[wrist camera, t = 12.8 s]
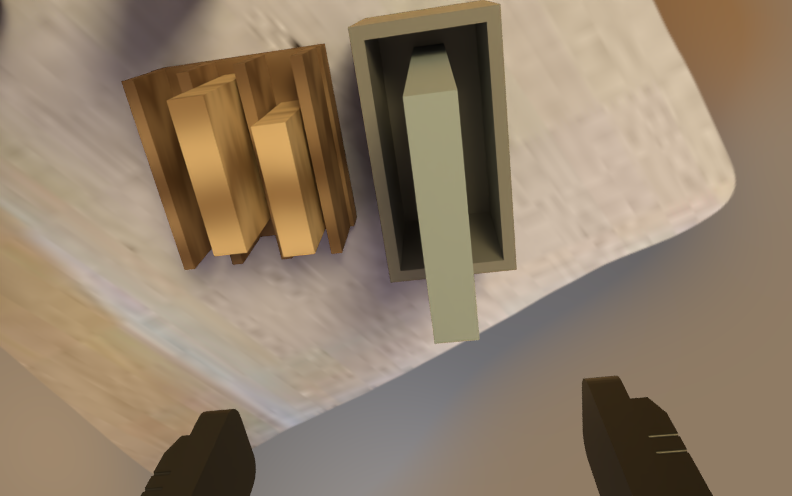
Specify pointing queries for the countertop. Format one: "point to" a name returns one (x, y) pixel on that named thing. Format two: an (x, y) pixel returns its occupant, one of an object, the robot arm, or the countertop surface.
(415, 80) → the tall sheet
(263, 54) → the rack
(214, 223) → the oak offcut
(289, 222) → the beech offcut
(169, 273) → the countertop surface
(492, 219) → the bin
